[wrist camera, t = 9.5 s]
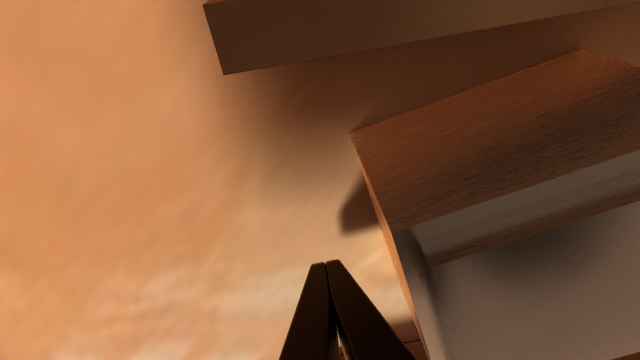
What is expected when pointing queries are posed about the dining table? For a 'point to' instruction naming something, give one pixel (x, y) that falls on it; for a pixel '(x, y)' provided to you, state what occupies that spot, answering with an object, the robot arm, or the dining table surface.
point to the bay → (360, 33)
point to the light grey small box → (517, 212)
